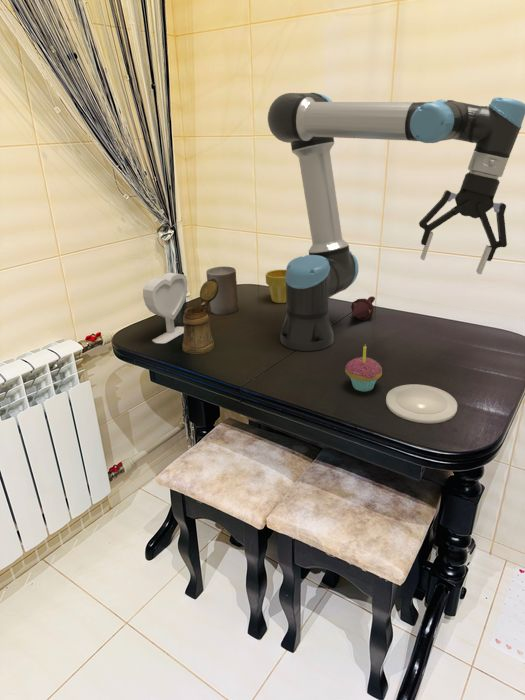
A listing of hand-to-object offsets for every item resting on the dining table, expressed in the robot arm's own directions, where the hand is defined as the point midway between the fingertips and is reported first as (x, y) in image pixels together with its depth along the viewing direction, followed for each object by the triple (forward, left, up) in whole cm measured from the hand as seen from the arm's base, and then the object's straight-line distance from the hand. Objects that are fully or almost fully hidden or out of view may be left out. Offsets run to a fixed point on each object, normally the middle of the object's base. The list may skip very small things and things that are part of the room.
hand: (450, 266), depth 122 cm
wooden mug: (-62, -17, -25) cm, 69 cm away
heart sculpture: (-75, -14, -25) cm, 80 cm away
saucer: (0, -26, -25) cm, 36 cm away
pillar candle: (-71, +10, -25) cm, 76 cm away
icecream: (-26, +20, -25) cm, 41 cm away
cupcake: (-14, -23, -25) cm, 36 cm away
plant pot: (-57, +26, -25) cm, 67 cm away
